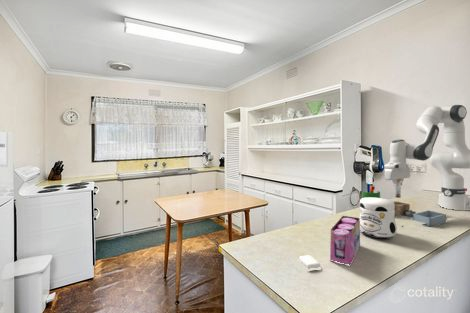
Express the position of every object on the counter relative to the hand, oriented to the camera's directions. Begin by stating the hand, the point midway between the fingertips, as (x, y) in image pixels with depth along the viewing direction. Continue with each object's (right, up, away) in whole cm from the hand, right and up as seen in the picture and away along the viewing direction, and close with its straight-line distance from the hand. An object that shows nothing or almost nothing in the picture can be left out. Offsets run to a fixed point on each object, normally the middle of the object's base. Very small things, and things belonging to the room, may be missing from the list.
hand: (397, 185), depth 151 cm
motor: (-16, -20, +2) cm, 26 cm away
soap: (-77, -26, -57) cm, 99 cm away
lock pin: (0, -8, 0) cm, 8 cm away
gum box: (-57, -24, -48) cm, 79 cm away
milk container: (-32, -22, -29) cm, 48 cm away
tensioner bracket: (+2, -19, -2) cm, 19 cm away
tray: (+8, -20, -15) cm, 26 cm away
